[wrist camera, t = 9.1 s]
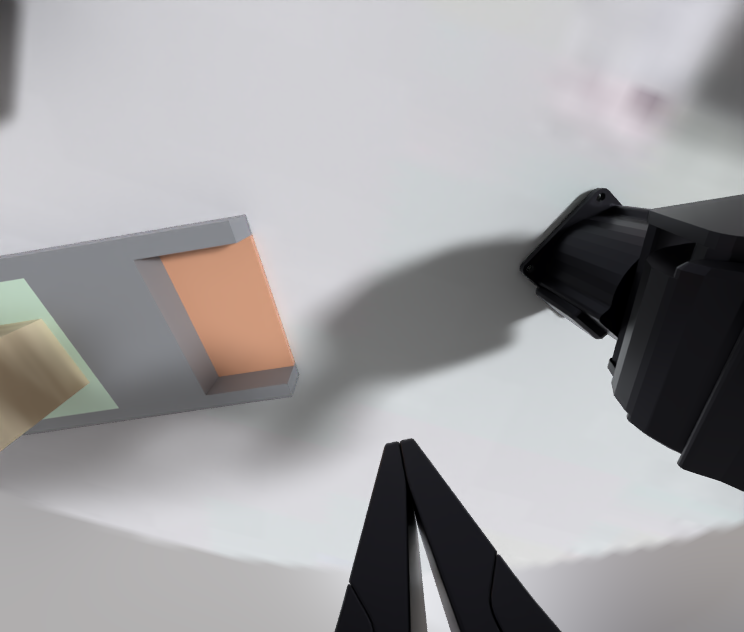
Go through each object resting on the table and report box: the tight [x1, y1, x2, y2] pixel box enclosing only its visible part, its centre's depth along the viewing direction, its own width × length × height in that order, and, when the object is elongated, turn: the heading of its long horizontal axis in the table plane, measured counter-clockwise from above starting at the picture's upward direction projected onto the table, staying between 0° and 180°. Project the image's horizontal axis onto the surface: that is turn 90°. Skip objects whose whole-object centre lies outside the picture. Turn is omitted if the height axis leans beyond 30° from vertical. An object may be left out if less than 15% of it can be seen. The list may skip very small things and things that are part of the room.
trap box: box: [0, 215, 299, 436], centre depth 20 cm, size 27×12×2 cm, turn 99°
